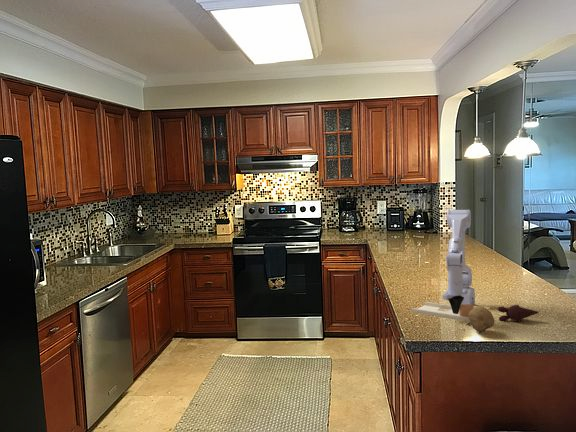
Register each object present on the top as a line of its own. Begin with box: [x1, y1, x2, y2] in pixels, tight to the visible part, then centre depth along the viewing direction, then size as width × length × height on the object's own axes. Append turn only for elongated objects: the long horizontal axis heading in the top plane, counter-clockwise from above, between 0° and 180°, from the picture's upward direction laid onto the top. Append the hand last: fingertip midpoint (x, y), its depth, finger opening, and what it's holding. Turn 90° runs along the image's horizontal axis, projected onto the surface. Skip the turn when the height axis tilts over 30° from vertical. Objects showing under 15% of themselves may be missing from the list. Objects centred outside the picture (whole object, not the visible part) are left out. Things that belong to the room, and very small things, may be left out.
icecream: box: [497, 304, 539, 323], centre depth 194 cm, size 7×7×15 cm
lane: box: [411, 301, 472, 327], centre depth 204 cm, size 26×13×4 cm, turn 49°
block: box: [458, 304, 475, 317], centre depth 198 cm, size 5×5×4 cm
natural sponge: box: [469, 305, 495, 333], centre depth 183 cm, size 9×9×10 cm
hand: (455, 313), depth 199 cm, fingers closed
